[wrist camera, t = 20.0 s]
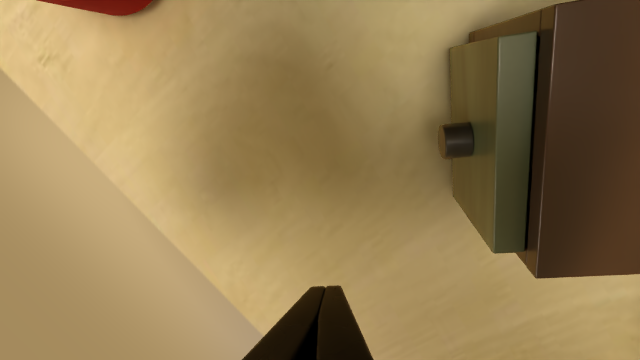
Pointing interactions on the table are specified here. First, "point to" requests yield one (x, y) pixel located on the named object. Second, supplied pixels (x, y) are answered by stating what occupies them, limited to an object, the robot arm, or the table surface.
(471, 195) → the drawer
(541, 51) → the cabinet
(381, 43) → the table surface
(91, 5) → the beverage can
